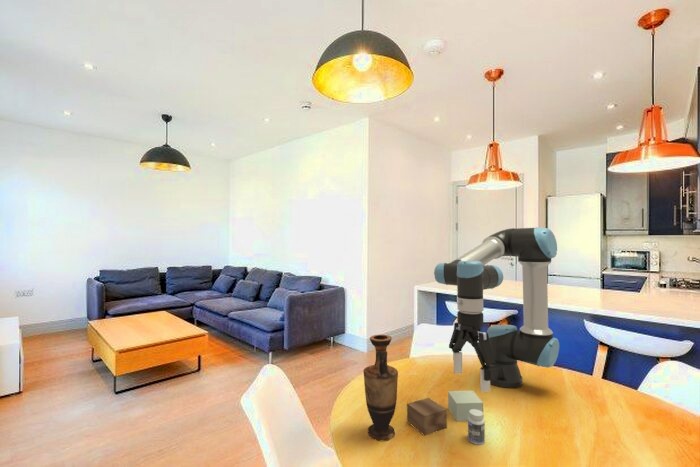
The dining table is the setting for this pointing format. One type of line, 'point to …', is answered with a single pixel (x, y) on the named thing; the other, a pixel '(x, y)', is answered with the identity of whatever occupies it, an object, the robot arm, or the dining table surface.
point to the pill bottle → (476, 427)
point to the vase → (381, 390)
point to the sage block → (463, 404)
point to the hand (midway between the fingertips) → (470, 381)
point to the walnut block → (427, 416)
